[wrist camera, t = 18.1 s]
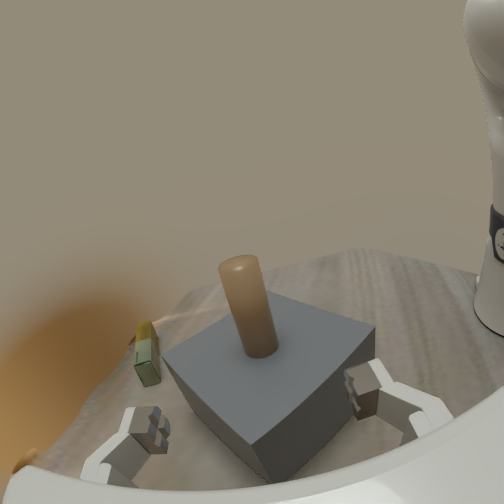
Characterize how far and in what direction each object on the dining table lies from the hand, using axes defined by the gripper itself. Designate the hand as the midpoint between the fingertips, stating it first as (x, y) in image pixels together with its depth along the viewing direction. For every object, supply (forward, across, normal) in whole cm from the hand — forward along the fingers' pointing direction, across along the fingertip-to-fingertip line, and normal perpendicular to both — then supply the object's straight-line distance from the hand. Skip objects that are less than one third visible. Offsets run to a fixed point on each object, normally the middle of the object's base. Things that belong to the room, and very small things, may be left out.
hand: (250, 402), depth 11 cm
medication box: (+24, -18, -16) cm, 34 cm away
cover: (+12, 0, -15) cm, 19 cm away
